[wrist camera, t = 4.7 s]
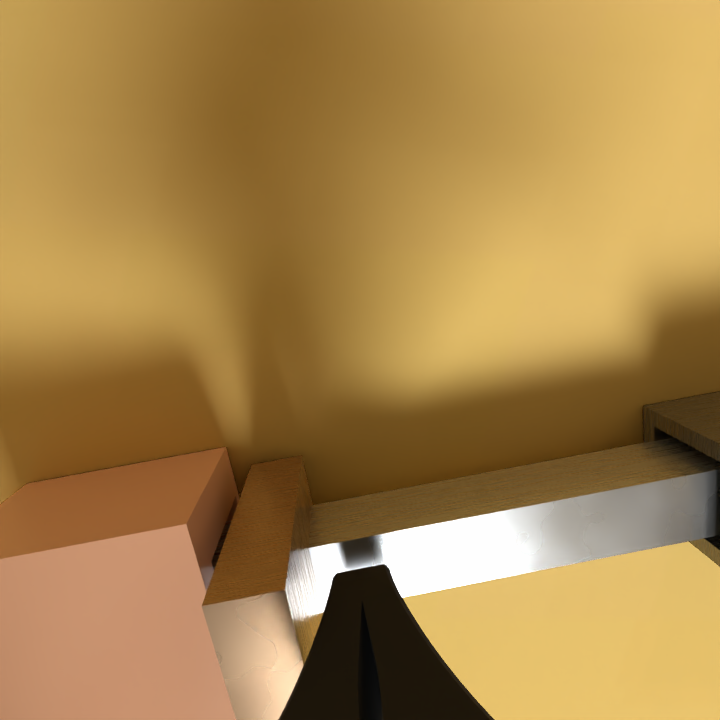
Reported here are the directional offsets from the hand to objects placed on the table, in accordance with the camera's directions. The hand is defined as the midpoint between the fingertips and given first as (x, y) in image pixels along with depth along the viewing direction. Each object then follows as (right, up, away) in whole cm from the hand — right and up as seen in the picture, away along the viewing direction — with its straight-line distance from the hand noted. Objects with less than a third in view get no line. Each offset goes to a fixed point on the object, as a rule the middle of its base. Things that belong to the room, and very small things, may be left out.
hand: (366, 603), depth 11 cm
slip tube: (+3, +2, +4) cm, 5 cm away
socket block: (-7, 0, +4) cm, 8 cm away
